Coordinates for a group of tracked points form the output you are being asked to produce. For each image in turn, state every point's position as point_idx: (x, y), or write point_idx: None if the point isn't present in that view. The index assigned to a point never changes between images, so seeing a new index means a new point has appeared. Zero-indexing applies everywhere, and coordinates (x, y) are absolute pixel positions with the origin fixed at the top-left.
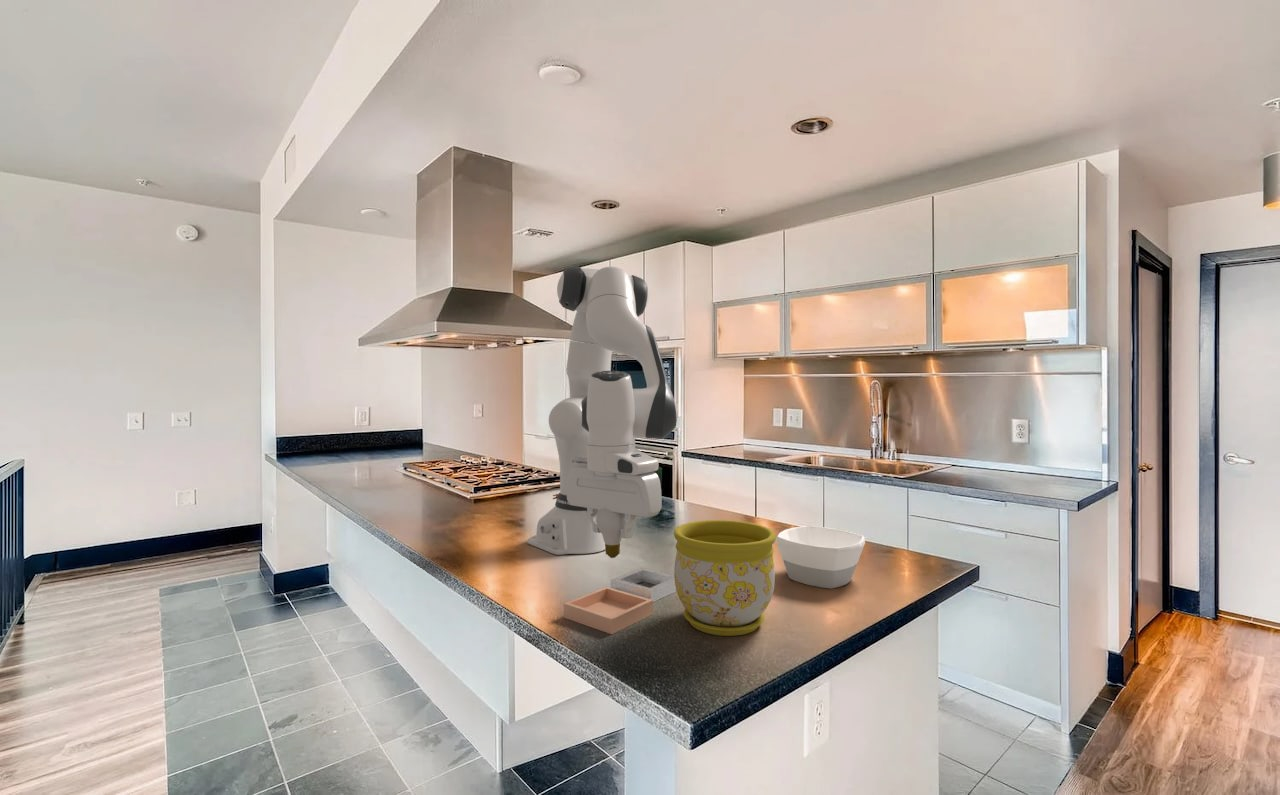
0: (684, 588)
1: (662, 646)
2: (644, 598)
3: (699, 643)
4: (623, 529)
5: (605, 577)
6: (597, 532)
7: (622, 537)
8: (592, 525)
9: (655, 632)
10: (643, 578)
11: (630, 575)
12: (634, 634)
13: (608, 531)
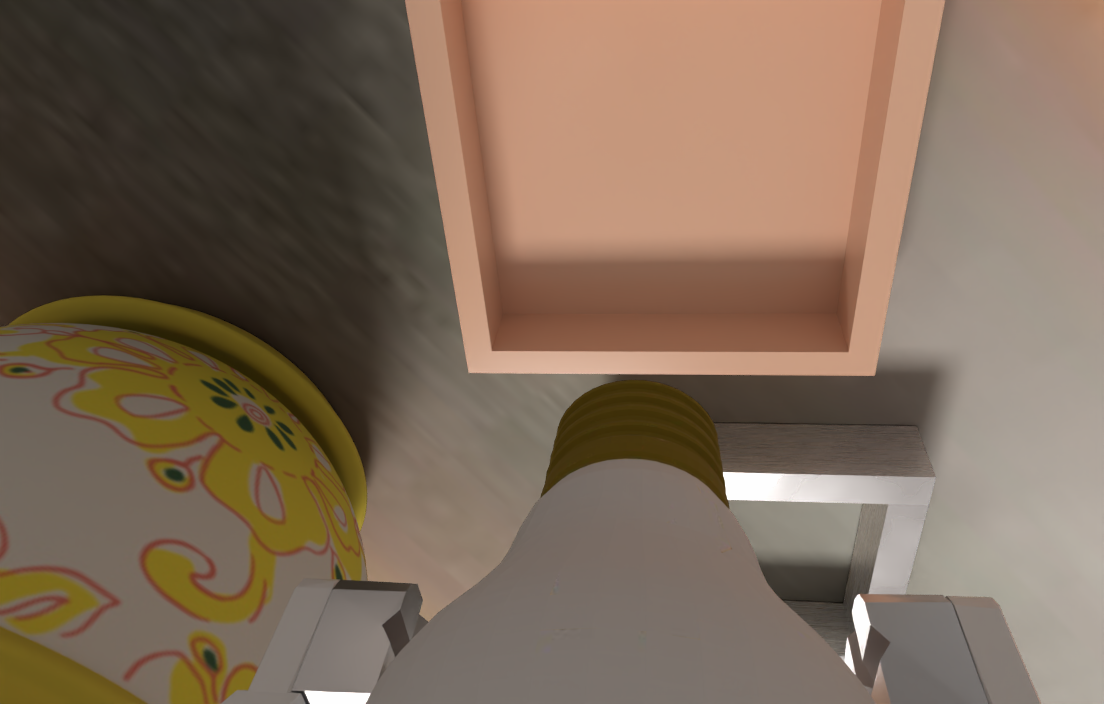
0: (35, 386)
1: (100, 21)
2: (526, 364)
3: (42, 188)
4: (310, 680)
5: (1085, 556)
6: (883, 596)
7: (391, 583)
8: (1023, 684)
9: (282, 146)
10: (842, 616)
11: (870, 579)
12: (333, 38)
13: (512, 574)
